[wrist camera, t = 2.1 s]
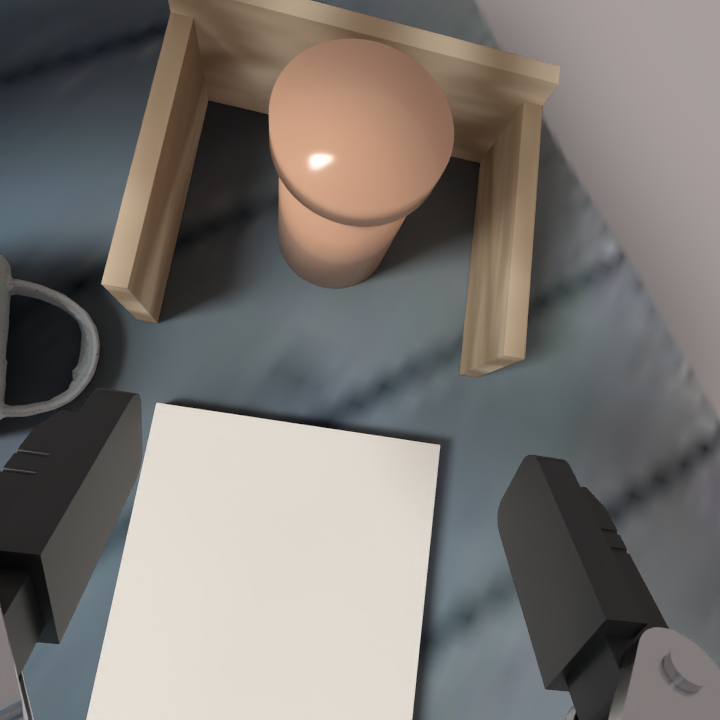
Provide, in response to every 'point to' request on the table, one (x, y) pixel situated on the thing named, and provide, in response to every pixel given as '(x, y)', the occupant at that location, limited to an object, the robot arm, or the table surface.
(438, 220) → the table surface
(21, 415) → the ceramic mug
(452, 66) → the wooden frame
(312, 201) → the tan round-topped cylinder
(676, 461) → the table surface
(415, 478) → the stone tile
